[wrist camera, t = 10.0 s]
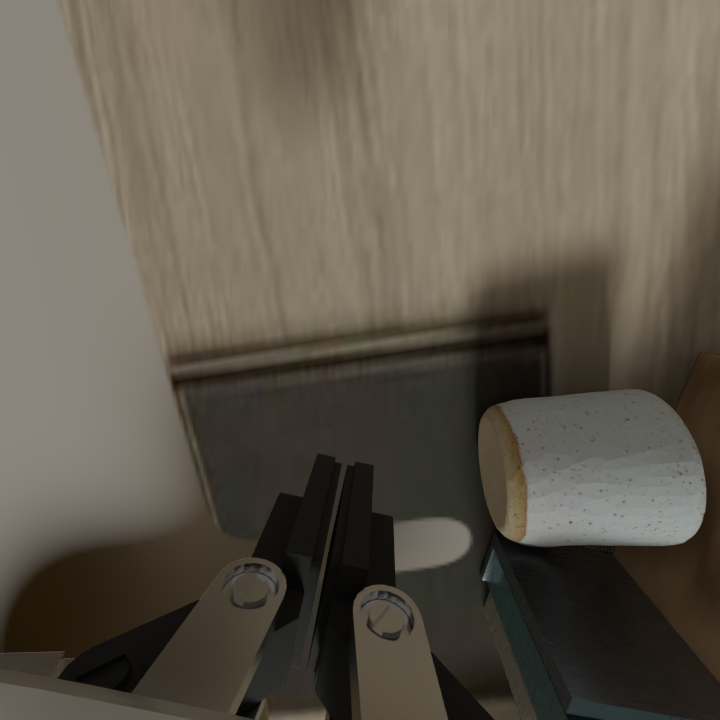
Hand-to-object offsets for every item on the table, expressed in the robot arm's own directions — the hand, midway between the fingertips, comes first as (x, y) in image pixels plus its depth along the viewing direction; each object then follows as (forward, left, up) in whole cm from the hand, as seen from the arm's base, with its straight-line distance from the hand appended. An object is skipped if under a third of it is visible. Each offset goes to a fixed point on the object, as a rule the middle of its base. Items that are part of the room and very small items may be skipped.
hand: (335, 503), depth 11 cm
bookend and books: (+11, +15, -12) cm, 22 cm away
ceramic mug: (+2, +13, -12) cm, 18 cm away
